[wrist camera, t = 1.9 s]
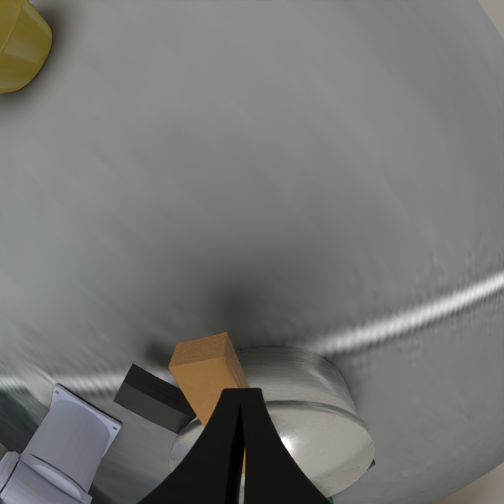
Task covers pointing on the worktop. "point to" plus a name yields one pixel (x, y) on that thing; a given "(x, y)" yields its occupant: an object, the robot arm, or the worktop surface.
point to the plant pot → (21, 44)
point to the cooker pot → (257, 374)
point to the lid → (272, 418)
